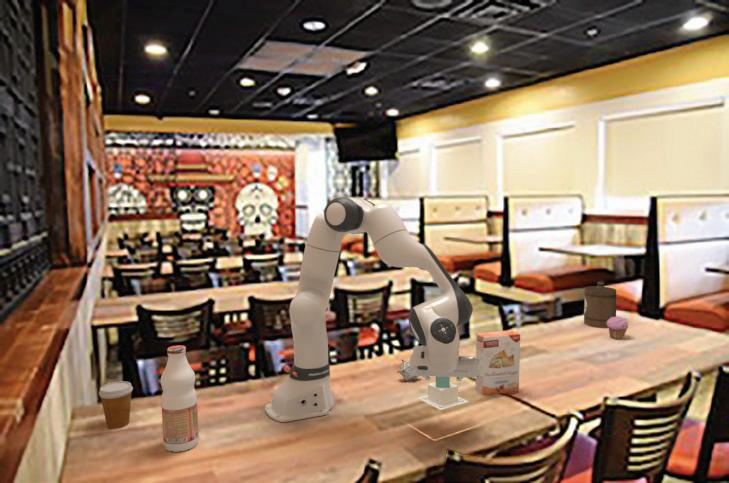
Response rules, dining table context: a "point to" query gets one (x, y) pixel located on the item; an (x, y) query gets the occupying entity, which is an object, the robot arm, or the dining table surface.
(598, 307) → the wooden container
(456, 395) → the cream brick
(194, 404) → the fruit juice
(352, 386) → the dining table surface
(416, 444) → the dining table surface
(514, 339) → the cracker box
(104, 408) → the disposable coffee cup
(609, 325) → the cupcake
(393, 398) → the dining table surface
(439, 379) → the teal brick
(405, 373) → the game die
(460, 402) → the baseplate
